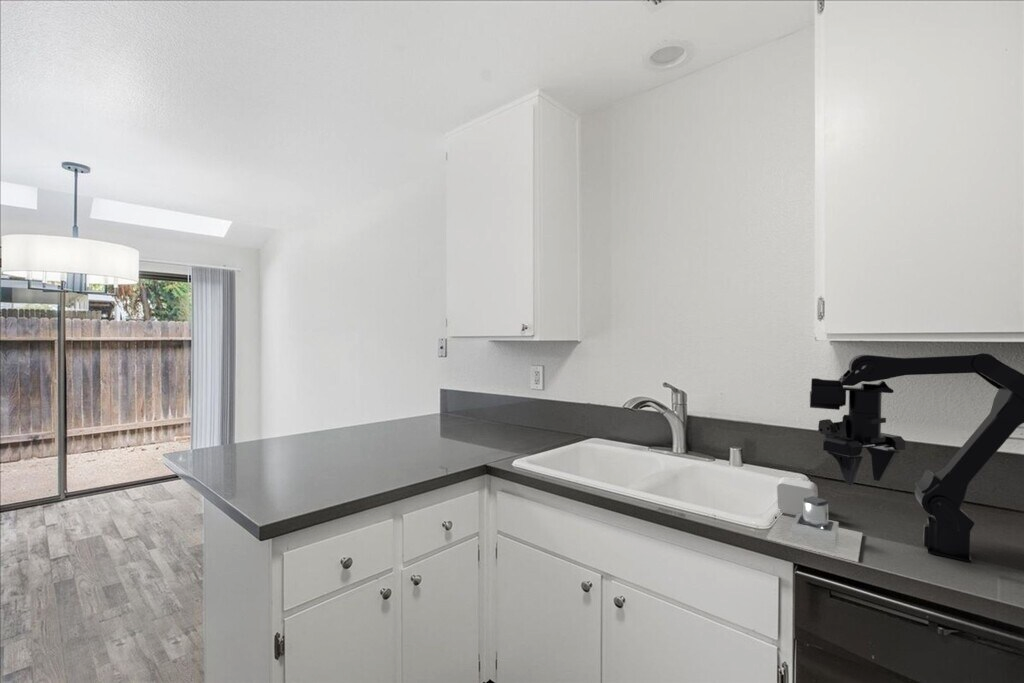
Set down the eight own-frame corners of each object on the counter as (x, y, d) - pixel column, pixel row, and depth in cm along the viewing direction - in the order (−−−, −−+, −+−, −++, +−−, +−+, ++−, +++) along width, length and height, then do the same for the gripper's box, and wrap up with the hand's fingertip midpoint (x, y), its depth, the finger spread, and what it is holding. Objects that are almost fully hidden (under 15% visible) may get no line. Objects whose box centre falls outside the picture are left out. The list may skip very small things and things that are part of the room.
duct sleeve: (812, 528, 106) (812, 494, 106) (833, 536, 102) (833, 501, 102) (798, 532, 105) (798, 497, 104) (819, 540, 100) (818, 504, 100)
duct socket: (862, 535, 105) (862, 521, 105) (858, 562, 92) (858, 545, 92) (780, 517, 115) (780, 504, 115) (766, 539, 102) (767, 524, 102)
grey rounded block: (823, 506, 121) (822, 470, 119) (815, 527, 114) (814, 489, 112) (787, 498, 127) (786, 464, 125) (778, 518, 119) (776, 482, 117)
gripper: (855, 404, 114) (853, 468, 115) (800, 408, 108) (798, 476, 108) (907, 411, 104) (906, 482, 104) (850, 416, 97) (848, 491, 98)
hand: (863, 482), depth 104 cm, fingers open, 9 cm apart
